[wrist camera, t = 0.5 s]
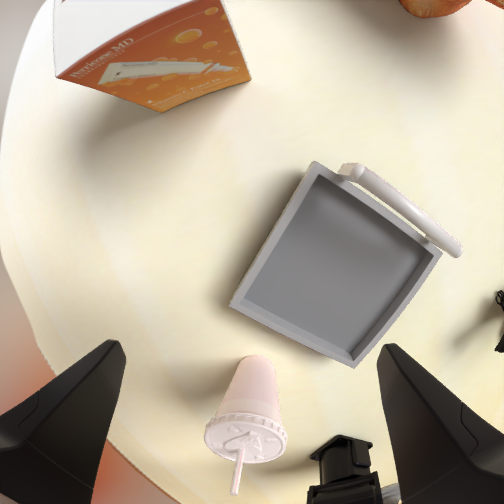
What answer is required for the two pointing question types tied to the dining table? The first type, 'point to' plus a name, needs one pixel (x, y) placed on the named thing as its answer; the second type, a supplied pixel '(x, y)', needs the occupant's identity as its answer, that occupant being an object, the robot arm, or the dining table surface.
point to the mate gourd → (391, 494)
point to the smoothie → (248, 418)
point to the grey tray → (341, 263)
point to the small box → (148, 49)
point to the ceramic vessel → (439, 6)
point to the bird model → (503, 344)
